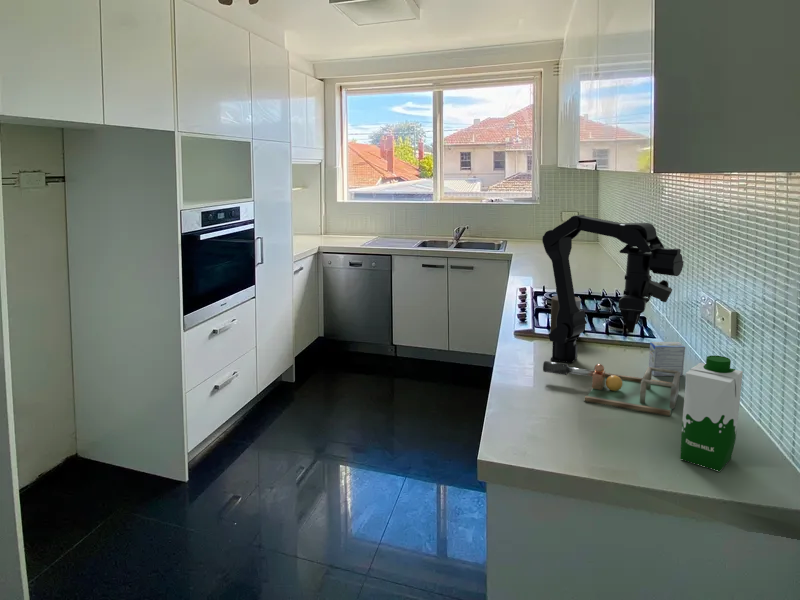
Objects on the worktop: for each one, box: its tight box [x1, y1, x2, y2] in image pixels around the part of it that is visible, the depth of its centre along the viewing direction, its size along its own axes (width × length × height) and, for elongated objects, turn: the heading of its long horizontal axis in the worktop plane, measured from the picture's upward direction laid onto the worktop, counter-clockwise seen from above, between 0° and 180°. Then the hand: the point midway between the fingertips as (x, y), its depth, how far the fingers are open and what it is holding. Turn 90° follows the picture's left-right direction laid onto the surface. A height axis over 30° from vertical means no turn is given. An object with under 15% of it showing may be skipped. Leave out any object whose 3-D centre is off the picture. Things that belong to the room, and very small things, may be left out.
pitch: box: [584, 366, 681, 417], centre depth 139 cm, size 20×20×6 cm
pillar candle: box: [549, 295, 582, 333], centre depth 189 cm, size 10×10×15 cm
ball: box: [606, 375, 622, 391], centre depth 141 cm, size 4×4×4 cm
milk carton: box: [679, 355, 744, 472], centre depth 105 cm, size 9×9×20 cm
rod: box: [542, 360, 606, 390], centre depth 146 cm, size 15×4×6 cm, turn 59°
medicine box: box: [648, 341, 686, 377], centre depth 153 cm, size 8×4×9 cm, turn 84°
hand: (633, 328), depth 149 cm, fingers open, 9 cm apart
